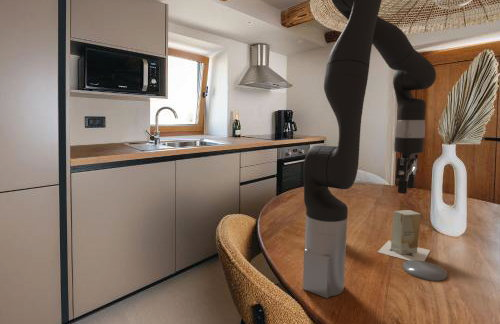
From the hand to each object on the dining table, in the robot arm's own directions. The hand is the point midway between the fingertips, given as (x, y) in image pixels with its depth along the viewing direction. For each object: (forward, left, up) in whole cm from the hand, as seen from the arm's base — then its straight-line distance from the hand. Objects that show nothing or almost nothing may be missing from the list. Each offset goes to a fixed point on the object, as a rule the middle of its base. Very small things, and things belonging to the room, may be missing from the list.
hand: (406, 190), depth 88 cm
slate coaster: (-10, -8, -19) cm, 23 cm away
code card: (0, -1, -19) cm, 19 cm away
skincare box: (0, -1, -19) cm, 19 cm away
